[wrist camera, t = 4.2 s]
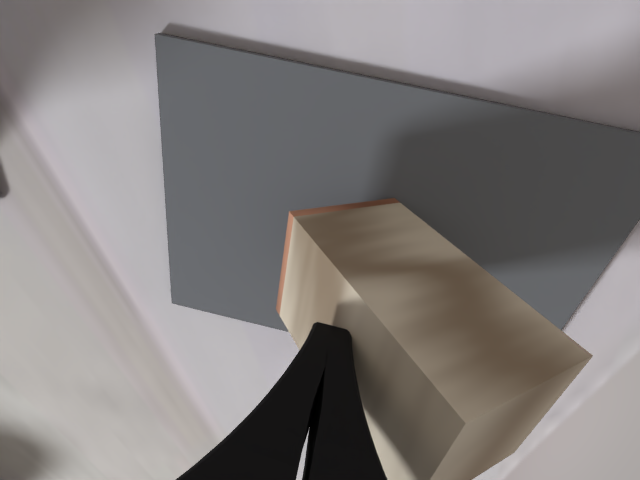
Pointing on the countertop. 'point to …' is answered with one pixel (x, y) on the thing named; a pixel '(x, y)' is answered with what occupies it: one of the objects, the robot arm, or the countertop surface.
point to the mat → (377, 176)
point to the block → (424, 338)
